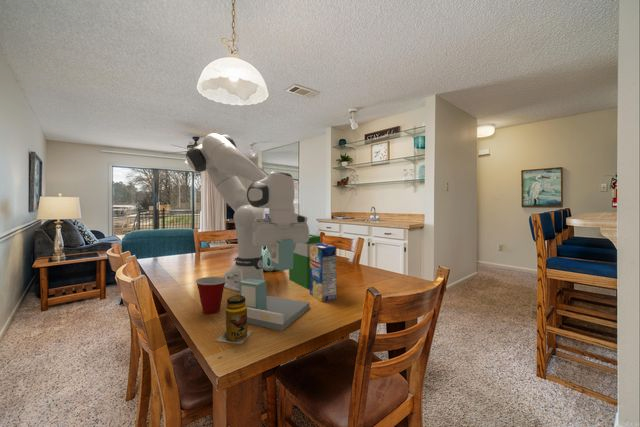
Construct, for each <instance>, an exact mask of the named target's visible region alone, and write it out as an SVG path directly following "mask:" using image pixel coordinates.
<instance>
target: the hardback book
mask: <svg viewBox="0 0 640 427" xmlns="http://www.w3.org/2000/svg"><path fill="white" fill-rule="evenodd" d="M319 243H321V236H320V235H314V234H310V233H309V241H308V242H307V243H296V248H295V250H294V251H293V269H288V276H289V278H288V280H289V281H290V282H292V283H294V284H297V285H299V286H301V287H302V288H304V289H307V290H310V244H319Z"/></svg>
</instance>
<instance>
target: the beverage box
mask: <svg viewBox="0 0 640 427" xmlns="http://www.w3.org/2000/svg"><path fill="white" fill-rule="evenodd" d="M337 249H338V248H337V246H335V245H332V244H328V243H324V242H320V243H319V244H310V289H309V294H310V295H311V296H312V297H314V298H315V299H317V300H318V301H319V302H321V303H325V302H330V301H334V300H337V256H338V253H337V251H338V250H337Z"/></svg>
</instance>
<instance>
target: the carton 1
mask: <svg viewBox="0 0 640 427" xmlns="http://www.w3.org/2000/svg"><path fill="white" fill-rule="evenodd" d="M264 280H265V279H264ZM264 280H257V279H250V278H248V279H245V280H243V281H240V282H239V291H238V295H241V296H244V297H245V302H246V304H245V305H246V306H247V307H250V308H255V309H260V310H264V309H266V308H267V304H266V295H267V280H265V281H264Z"/></svg>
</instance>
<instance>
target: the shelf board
mask: <svg viewBox="0 0 640 427" xmlns="http://www.w3.org/2000/svg"><path fill="white" fill-rule="evenodd" d="M266 304H267V308H266V309H264V310H260V309H255V308H250V307H247V324H250V325H254V326H258V327H262V328H268V329H271V330H276V331H281V332H282V331H284V330H285V329H286V328H287V327H288V326H290V325H291V324H292V323H293V322H294V321H295V320H297V319H298V318H299V317H300V316H302V315H303V314H304V313H305V312H306V311H308V310H309V309H310V306H311V305H310V301H302V300H297V299H296V300H295V299H291V298H284V297H278V296H273V295H272V296H271V295H268V294H266Z"/></svg>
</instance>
